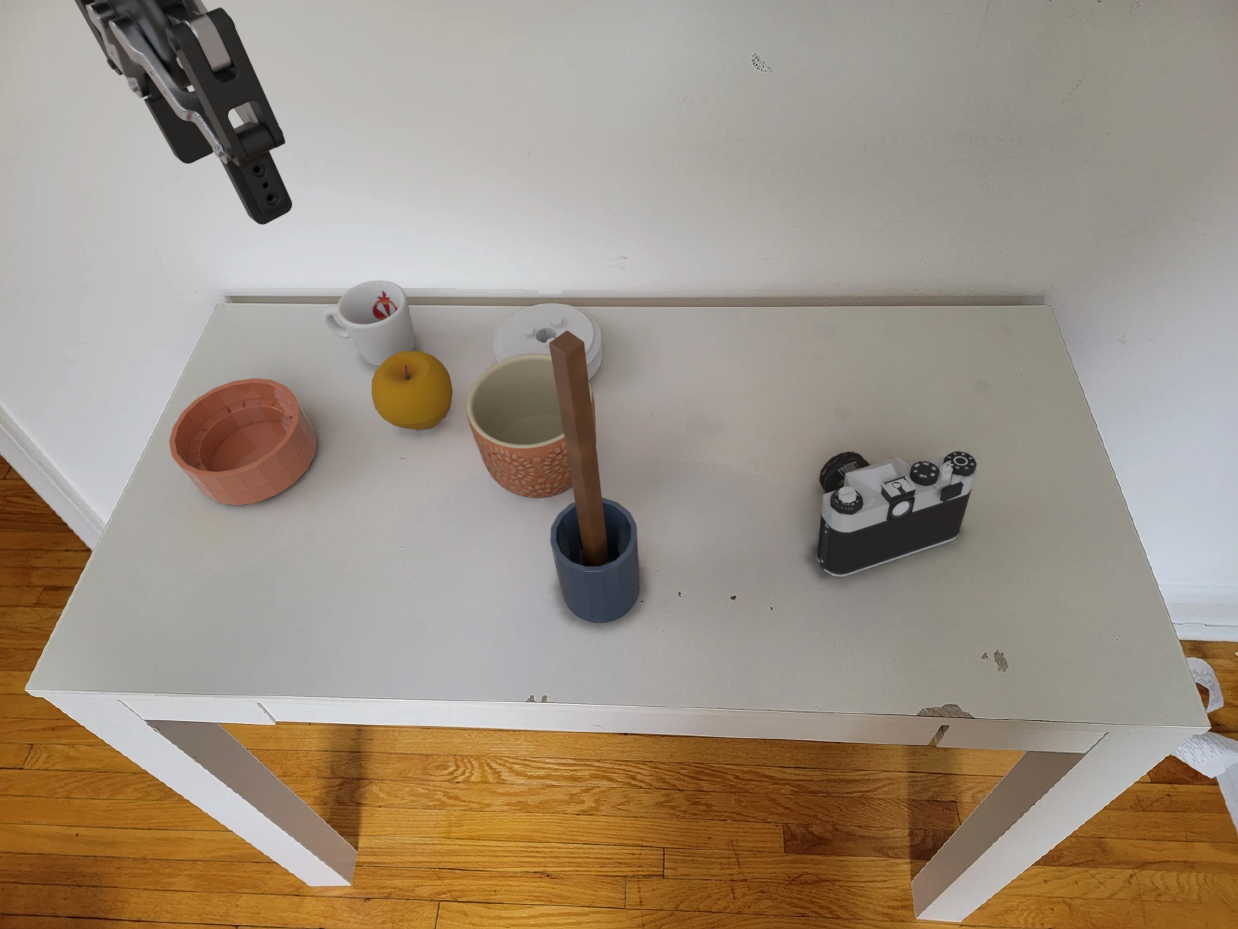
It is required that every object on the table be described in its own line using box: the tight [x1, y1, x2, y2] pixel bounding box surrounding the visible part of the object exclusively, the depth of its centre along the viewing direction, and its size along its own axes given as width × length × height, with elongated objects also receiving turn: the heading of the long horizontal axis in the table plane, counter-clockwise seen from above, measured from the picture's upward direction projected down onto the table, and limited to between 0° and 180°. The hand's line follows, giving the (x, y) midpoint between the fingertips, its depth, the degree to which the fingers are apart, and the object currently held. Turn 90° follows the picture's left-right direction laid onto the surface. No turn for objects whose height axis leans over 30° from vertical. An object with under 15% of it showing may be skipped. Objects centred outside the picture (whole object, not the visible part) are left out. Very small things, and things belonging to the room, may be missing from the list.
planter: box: [466, 353, 597, 499], centre depth 78 cm, size 12×12×11 cm
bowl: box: [168, 377, 318, 506], centre depth 83 cm, size 13×13×6 cm
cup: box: [322, 279, 416, 367], centre depth 91 cm, size 11×8×8 cm
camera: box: [816, 450, 978, 578], centre depth 73 cm, size 15×11×10 cm
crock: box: [549, 497, 641, 624], centre depth 70 cm, size 7×7×10 cm
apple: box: [370, 350, 454, 431], centre depth 84 cm, size 9×8×9 cm
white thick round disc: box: [492, 302, 604, 381], centre depth 90 cm, size 13×13×5 cm
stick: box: [549, 330, 609, 567], centre depth 60 cm, size 2×3×32 cm, turn 45°
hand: (234, 184), depth 43 cm, fingers open, 8 cm apart
